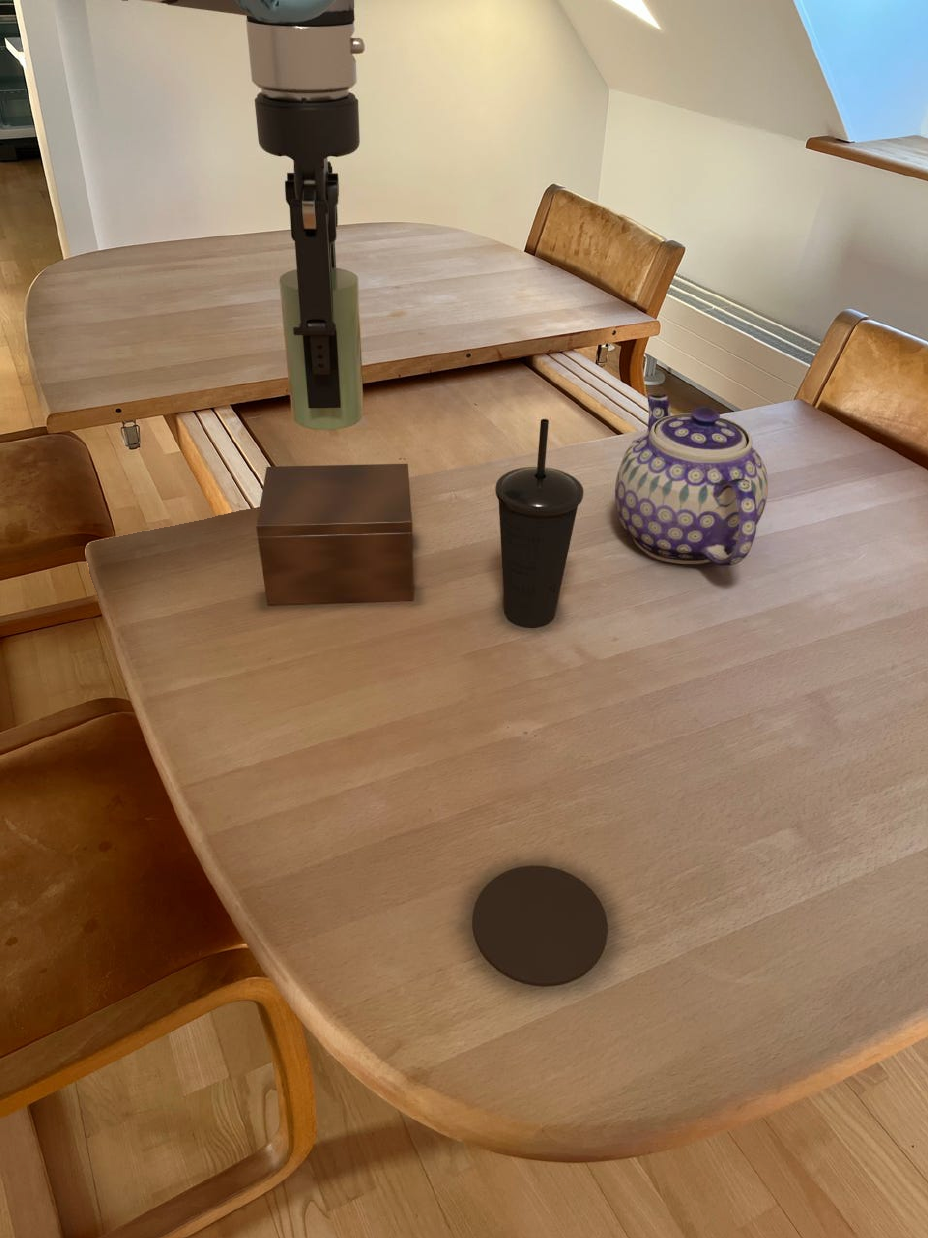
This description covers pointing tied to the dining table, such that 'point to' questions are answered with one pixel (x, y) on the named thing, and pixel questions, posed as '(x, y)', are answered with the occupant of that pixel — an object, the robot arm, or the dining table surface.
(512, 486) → the drinking cup
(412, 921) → the dining table surface
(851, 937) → the dining table surface
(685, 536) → the teapot
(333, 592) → the walnut chest
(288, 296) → the canister
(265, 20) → the robot arm
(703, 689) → the dining table surface
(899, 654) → the dining table surface
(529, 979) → the coaster
